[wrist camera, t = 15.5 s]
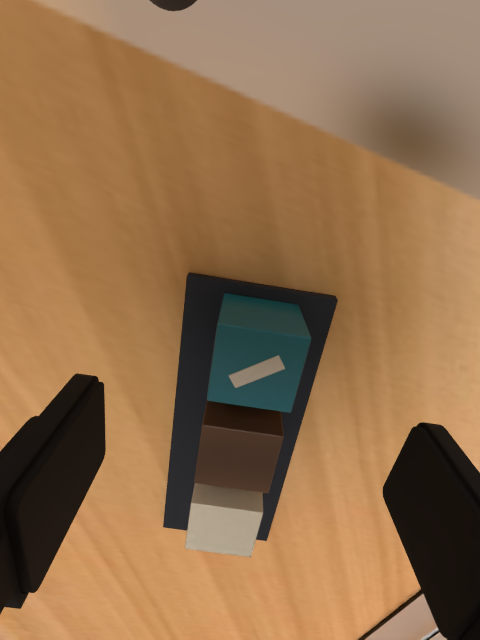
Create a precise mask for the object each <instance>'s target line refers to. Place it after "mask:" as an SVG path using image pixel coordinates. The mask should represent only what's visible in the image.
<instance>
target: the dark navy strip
mask: <svg viewBox="0 0 480 640" xmlns="http://www.w3.org/2000/svg"><path fill="white" fill-rule="evenodd" d="M225 293H227V294H234V295H240V296H246V297H253V298H259V299H265V300H271V301H278V302H284V303H290V304H297V305H299V307H300V310H301V313H302V315H303V318H304V320H305V323H306V326H307V328H308V331H309V333H310V336H311V342H310V346H309V349H308V353H307V357H306V360H305V364H304V368H303V371H302V375H301V378H300V382H299V386H298V389H297V393H296V397H295V400H294V404H293V408H292V411H291V413H288V412H281V419H282V426H283V434H284V438H283V442H282V445H281V449H280V453H279V456H278V460H277V464H276V467H275V471H274V475H273V478H272V482H271V485H270V489H269V492H268V493H262V496H263V515H262V519H261V522H260V526H259V530H258V533H257V537H256V540H264V541H267V538H268V534H269V531H270V527H271V524H272V521H273V517H274V514H275V511H276V507H277V504H278V500H279V497H280V494H281V490H282V487H283V483H284V480H285V477H286V473H287V470H288V467H289V463H290V460H291V456H292V453H293V450H294V446H295V443H296V440H297V436H298V433H299V429H300V426H301V423H302V419H303V416H304V412H305V409H306V406H307V402H308V399H309V396H310V392H311V389H312V385H313V382H314V379H315V375H316V372H317V369H318V365H319V362H320V358H321V355H322V352H323V348H324V345H325V342H326V338H327V335H328V331H329V328H330V325H331V321H332V318H333V314H334V311H335V308H336V304H337V301H338V299H337V298H336V296H332V295H326V294H320V293H313V292H307V291H301V290H295V289H288V288H282V287H276V286H270V285H263V284H257V283H251V282H245V281H239V280H232V279H226V278H220V277H214V276H207V275H201V274H195V273H189V274H188V275H187V282H186V293H185V304H184V314H183V325H182V335H181V346H180V356H179V367H178V377H177V388H176V398H175V409H174V420H173V430H172V441H171V451H170V462H169V472H168V483H167V493H166V504H165V515H164V525H163V527H165V528H173V529H181V530H187V529H188V522H189V515H190V508H191V501H192V496H193V490H194V485H195V483H194V479H195V472H196V465H197V458H198V451H199V444H200V437H201V430H202V423H203V418H204V413H205V408H206V403H207V393H208V386H209V379H210V372H211V365H212V357H213V350H214V343H215V336H216V329H217V323H218V319H219V314H220V310H221V306H222V301H223V297H224V294H225Z"/></svg>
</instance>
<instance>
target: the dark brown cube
mask: <svg viewBox="0 0 480 640" xmlns="http://www.w3.org/2000/svg"><path fill="white" fill-rule="evenodd" d="M283 438H284V434H283V426H282V419H281V411H274V410H267V409H260V408H254V407H247V406H240V405H233V404H226V403H220V402H213V401H208V400H207V403H206V408H205V413H204V418H203V423H202V430H201V437H200V444H199V451H198V458H197V465H196V472H195V479H194V483H196V484H204V485H211V486H218V487H225V488H233V489H240V490H247V491H254V492H262V493H268V492H269V489H270V485H271V482H272V478H273V475H274V471H275V467H276V464H277V460H278V456H279V453H280V449H281V445H282V442H283Z"/></svg>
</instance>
